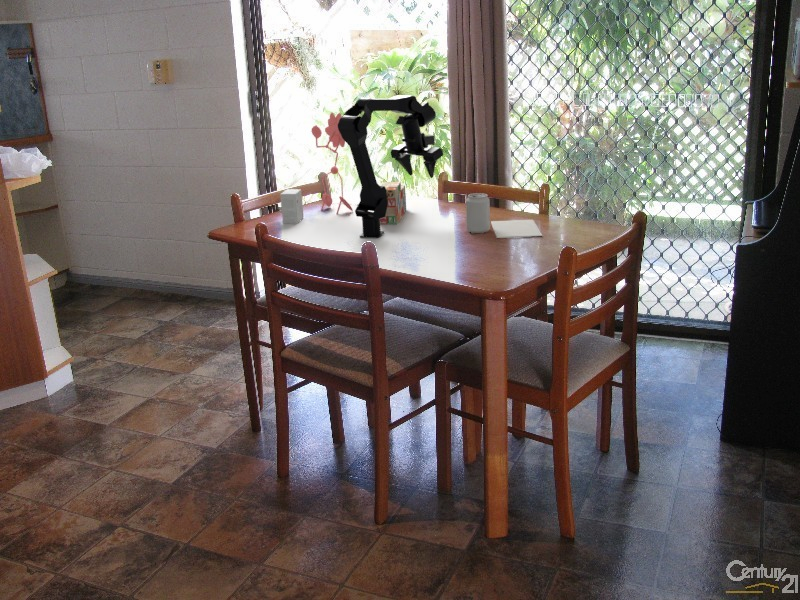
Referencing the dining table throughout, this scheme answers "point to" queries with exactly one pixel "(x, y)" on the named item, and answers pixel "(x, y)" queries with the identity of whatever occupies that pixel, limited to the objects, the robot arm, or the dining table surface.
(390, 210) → the stack of blocks
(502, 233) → the mat
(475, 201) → the can
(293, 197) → the small box
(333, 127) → the figurine
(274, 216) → the dining table surface
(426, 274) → the dining table surface
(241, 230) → the dining table surface
